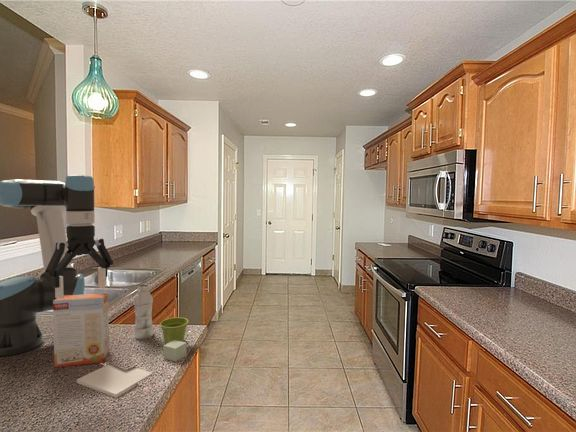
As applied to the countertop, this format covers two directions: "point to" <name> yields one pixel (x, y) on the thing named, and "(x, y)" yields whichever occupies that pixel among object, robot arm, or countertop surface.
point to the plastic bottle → (143, 313)
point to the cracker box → (80, 329)
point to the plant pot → (174, 329)
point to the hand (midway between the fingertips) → (82, 292)
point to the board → (113, 379)
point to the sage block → (174, 350)
